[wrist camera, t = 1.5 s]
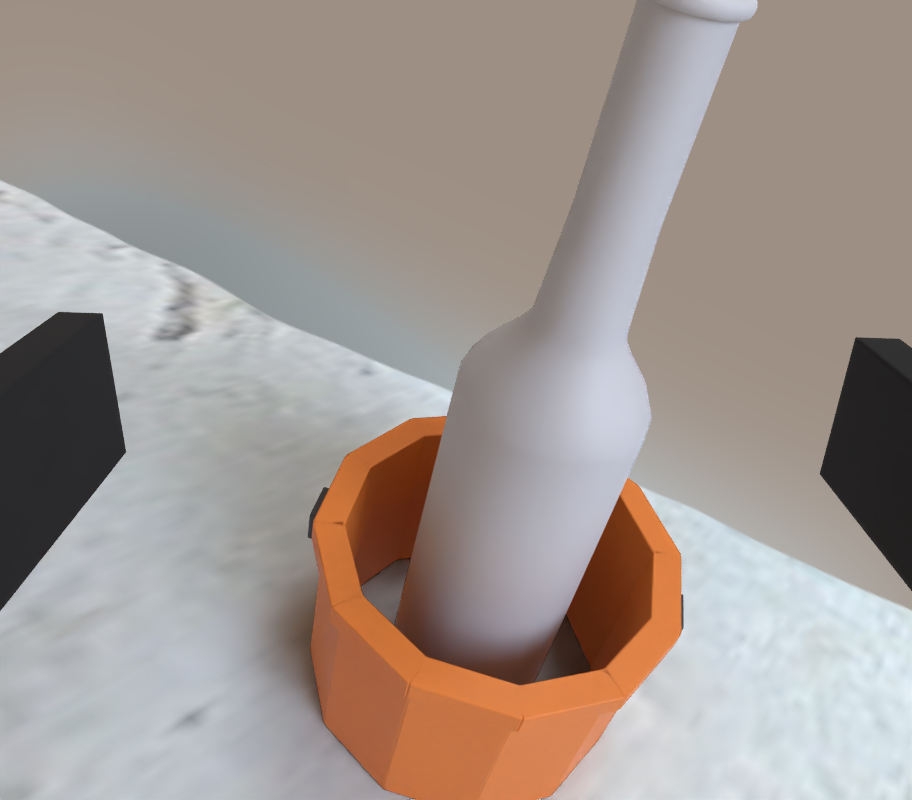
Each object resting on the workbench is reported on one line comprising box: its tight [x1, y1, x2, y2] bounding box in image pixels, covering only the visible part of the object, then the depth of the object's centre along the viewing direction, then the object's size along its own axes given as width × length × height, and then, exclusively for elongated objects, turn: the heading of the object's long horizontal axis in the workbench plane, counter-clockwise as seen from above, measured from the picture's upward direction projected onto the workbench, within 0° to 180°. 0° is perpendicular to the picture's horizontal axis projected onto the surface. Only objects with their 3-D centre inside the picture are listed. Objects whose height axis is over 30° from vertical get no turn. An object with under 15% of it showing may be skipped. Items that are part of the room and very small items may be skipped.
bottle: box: [395, 0, 757, 685], centre depth 27 cm, size 7×7×28 cm
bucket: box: [308, 416, 683, 800], centre depth 33 cm, size 15×14×8 cm
